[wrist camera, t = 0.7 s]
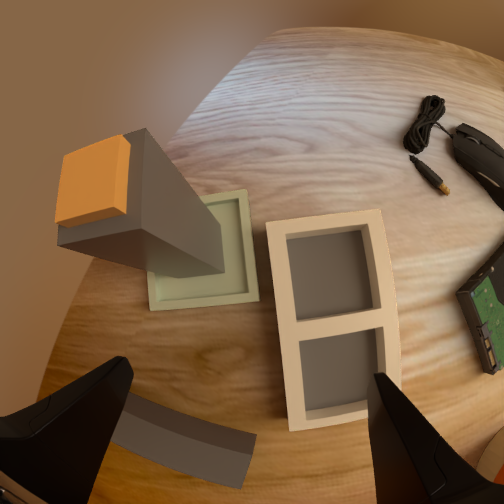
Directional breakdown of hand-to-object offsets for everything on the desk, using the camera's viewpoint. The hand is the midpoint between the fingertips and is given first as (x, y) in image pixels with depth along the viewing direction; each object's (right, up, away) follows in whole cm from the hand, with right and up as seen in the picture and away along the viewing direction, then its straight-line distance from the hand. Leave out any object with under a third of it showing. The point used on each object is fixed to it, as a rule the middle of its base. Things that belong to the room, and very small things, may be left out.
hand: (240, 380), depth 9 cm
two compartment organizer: (+7, -1, +12) cm, 14 cm away
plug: (-4, +4, +14) cm, 15 cm away
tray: (-4, +4, +14) cm, 16 cm away
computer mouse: (+24, +13, +14) cm, 31 cm away
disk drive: (+28, 0, +11) cm, 30 cm away
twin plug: (-6, -12, +12) cm, 18 cm away
